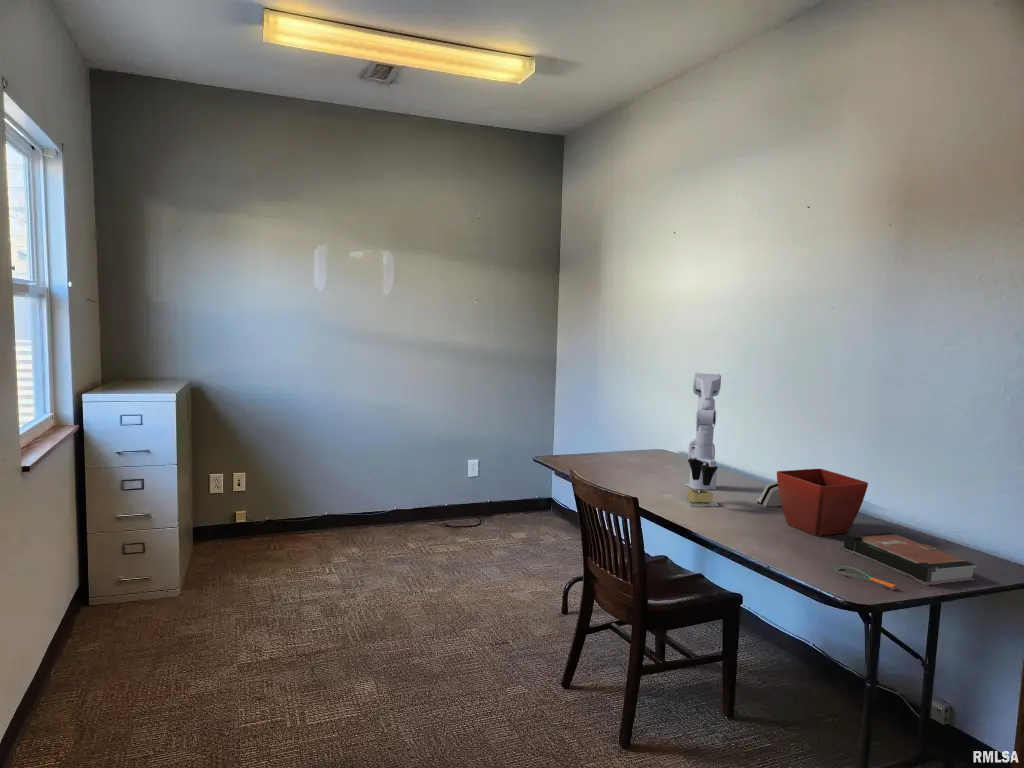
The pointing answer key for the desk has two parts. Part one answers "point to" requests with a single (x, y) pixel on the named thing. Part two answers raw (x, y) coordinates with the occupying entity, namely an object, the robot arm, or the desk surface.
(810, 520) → the plant pot
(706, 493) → the link
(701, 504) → the keeper plate
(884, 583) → the green orange wire loop
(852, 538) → the book
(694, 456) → the robot arm
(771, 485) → the grey curved piece
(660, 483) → the desk surface
